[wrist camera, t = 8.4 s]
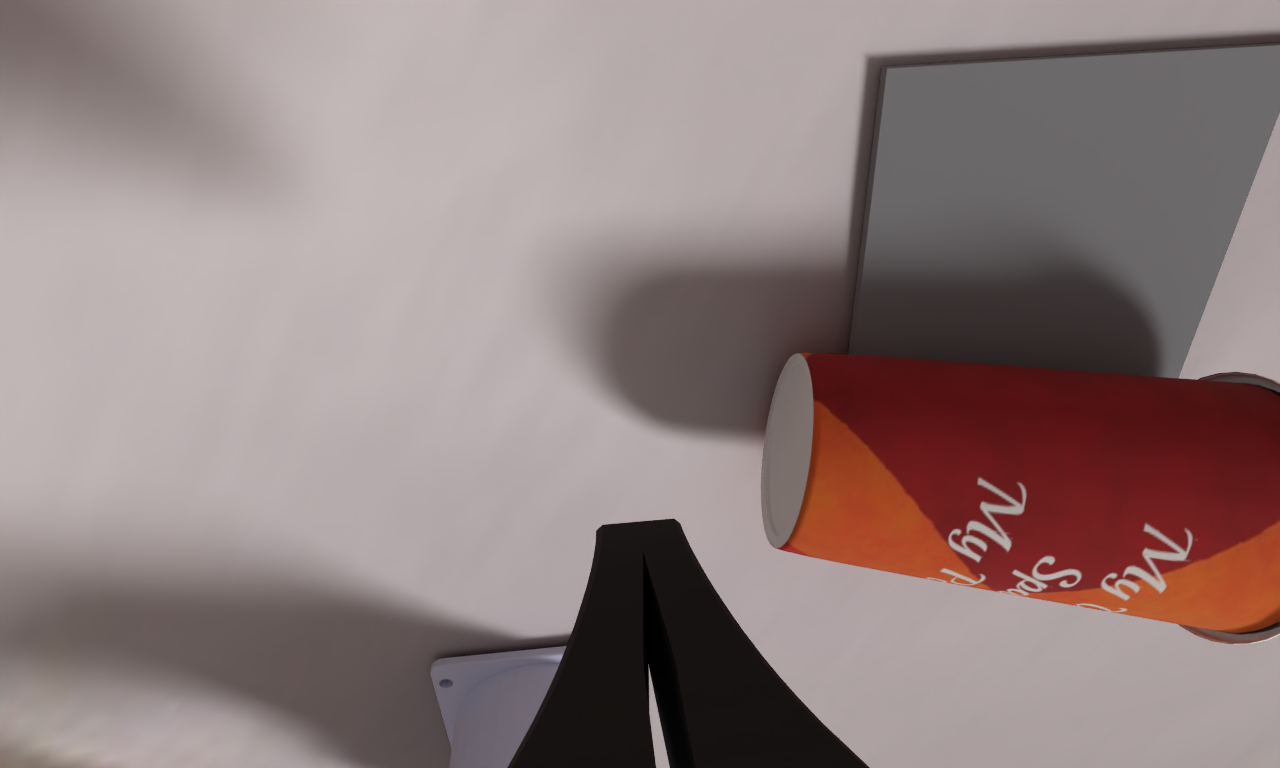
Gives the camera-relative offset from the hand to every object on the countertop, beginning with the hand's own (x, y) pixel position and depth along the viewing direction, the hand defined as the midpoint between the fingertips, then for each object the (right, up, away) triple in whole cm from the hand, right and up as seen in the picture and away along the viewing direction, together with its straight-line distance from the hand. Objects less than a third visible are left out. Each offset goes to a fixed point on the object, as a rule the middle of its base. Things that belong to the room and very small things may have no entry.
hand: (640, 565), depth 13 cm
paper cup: (+4, +1, +8) cm, 9 cm away
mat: (+12, +5, +11) cm, 17 cm away
